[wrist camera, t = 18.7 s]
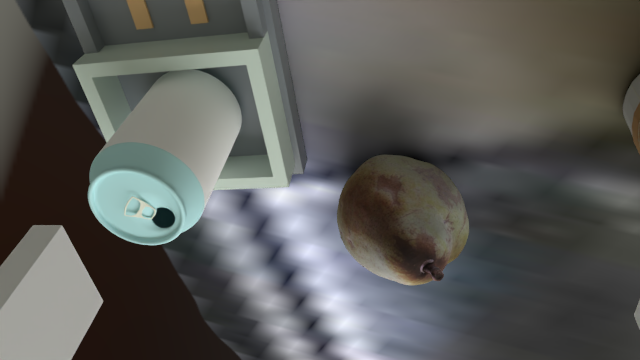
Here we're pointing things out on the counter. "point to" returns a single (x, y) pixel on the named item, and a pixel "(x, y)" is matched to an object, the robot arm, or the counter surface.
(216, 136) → the can
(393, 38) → the counter surface
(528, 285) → the counter surface
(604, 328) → the counter surface
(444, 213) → the fruit
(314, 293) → the counter surface
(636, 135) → the coffee cup
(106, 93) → the grey tray
